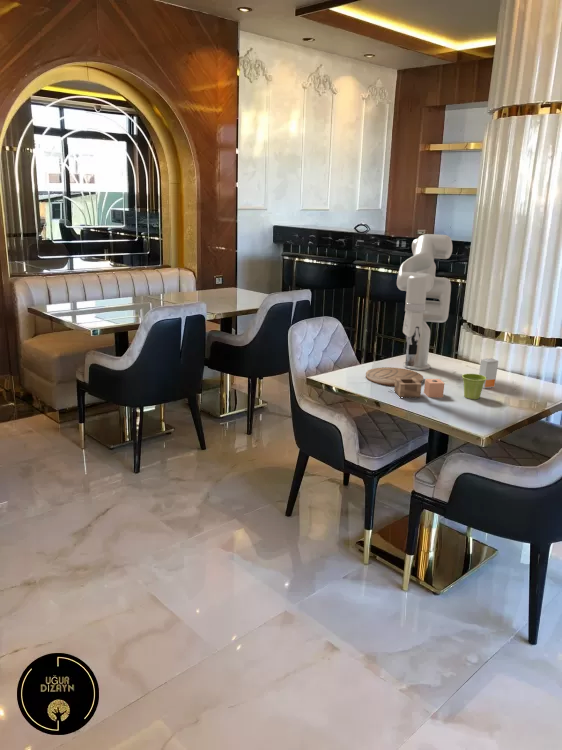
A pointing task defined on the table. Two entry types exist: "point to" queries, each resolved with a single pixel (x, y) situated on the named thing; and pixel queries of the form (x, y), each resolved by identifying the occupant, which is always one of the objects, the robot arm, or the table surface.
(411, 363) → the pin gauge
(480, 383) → the plant pot
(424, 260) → the robot arm
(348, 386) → the table surface
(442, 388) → the pink cube with hole
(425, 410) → the table surface
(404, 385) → the wooden box
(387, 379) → the trivet
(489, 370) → the skincare box
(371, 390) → the table surface
